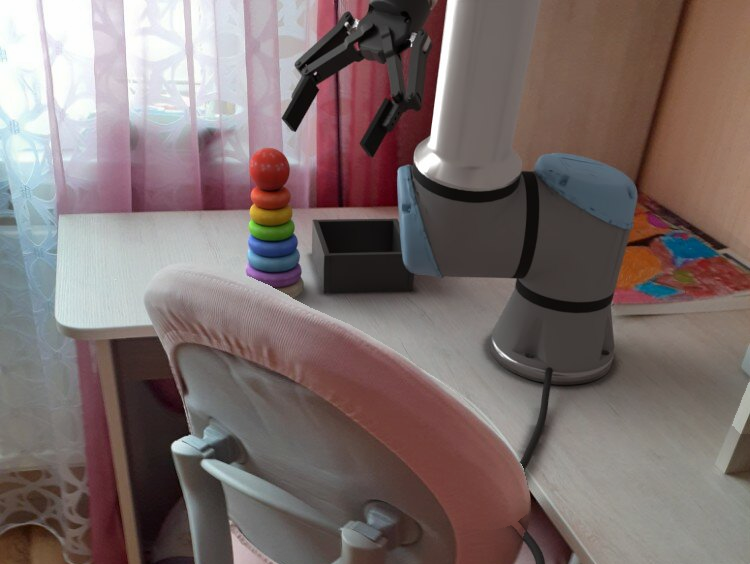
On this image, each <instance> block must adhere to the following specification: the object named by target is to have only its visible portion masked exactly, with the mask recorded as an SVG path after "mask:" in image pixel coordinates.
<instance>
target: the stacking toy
mask: <svg viewBox="0 0 750 564" xmlns="http://www.w3.org/2000/svg"><path fill="white" fill-rule="evenodd" d="M248 169H249V170H248V171H249V176H250V178H251V180H252V182H253V184H255V185H256V186H255V187H254V188H253V189H252V191H251V193H250V199H251V202H252V203H253V204H252V205H251V206H250V207H249V208H250V209H249V217H250V221H249V222H248V232H249V233H250V235H249V236H248V239H247V244H248V250H247V254H246V258H247V262H248V263H247V264H246V266H245V274H246V277H247V276H249V277H252V278H254V279H256V280H258V281H261V282H263V283H265V284H268V285H270V286H272V287H273V288H275V289H277V290H279V291H281V292H283V293H285V294H287V295H289V296H290V297H292V299H294V298H296V297H298V296H299V295H300V294H301V293H302V291H303V290H304V287H305V285H304V280H303V277H302V273H303V272H302V266H301V264H300V259H301V255H300V254H301V253H300V251H299V249H298V246H299V240H298V237H297V235H296V234H295V230H296V229H295V228H296V227H295V226H296V225H295V222H294V221H293V219H292V218H293V213H294V212H293V208H292V207H291V205H290V202H291V198H292V196H291V192H290V190H289V189H288V188H287V187H286V186H285V185H286V184H287V182H288V181H289V177H290V173H291V167H290V163H289V160H288V158H287V157H286V155H285V154H284V153H283V152H282V151H281V150H278V149H277V148H274V147H273V148H272V147H264V148H261V149H259V150H258V151H255V153H254V154H253V155H252V157H251V159H250V161H249V167H248Z"/></svg>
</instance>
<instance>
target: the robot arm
mask: <svg viewBox="0 0 750 564" xmlns="http://www.w3.org/2000/svg"><path fill="white" fill-rule="evenodd" d="M438 1H439V0H369V1H368V7H367V8H368V9H367V12H366V14H365V15H364V16H363V17H362V18H361V19H358V18H355V17H354V16H353V15H352V13H351V12H350V11H345V12H344V13H343V14H342V15H341V17H340V18H339V20H338V22H337V23H336V25H334V26H333V27H332V28H331V29H330V30H329V31H328V32H327V33H326V34H324V35H323V36H322V37H321V38H320V39H319V40H317V42H315V43H314V44H313V45H312V46H310V48H309V49H308V50H307V51H306V52H304V53H303V54H302V55H301V56H300V57H299V58H297V60H296V61H295V62H294V68H295V69H296V70H297V72H298V74H300V76H301V77H300V79H299V81H298V82H297V83H296V86H295V87H294V90H293V91H292V93H291V95H290V98H291V101H290V102H289V104H288V106H287V107H286V109H285V111H284V112H283V114H282V117H281V118H280V119H281V120H282V121H283V122H284V124H285V125H286V126H287V127H288V129H290V131H291V132H294V133H296V132H297V131H298V129H299V127H300V125H301V124H302V122H303V120H304V118H305V117H306V114H307V113H308V111H309V110H310V108H311V106H312V104H313V102H314V100H315V99H316V98H317V95H318V93H319V92H320V88H319V87H318V85H319V84H321V83H323V82H324V81H325V80H327V79H329V78H330V77H332V76H334V75H335V74H337V73H338V72H340V71H341V70H343V69H345V68H347V67H348V66H350V65H351V64H353V63H354V62H356V63H360V62H362V61H363V60H366V61H370V62H377V63H379V64H381V65H385V64H386V66H387V73H388V80H389V81H388V82H389V87H390V94H389V96H390V98H391V99H392V100H391V99H390V98H387V97H384V99H383V100H382V102H381V104H380V106H379V108H378V110H377V111H376V113H375V115H374V117H373V119H372V120H371V121H370V124H369V125H368V128H367V129H366V131H365V133H364V134H363V136H362V138H361V139H360V141H359V143H358V144H359V146H360V147H361V148H362V150H363V151H364V153H365V154H366V155H367V157H369V158H373V159H374V156H375V155H376V153H377V151H378V149H379V148H380V146H381V144H382V142H383V141H384V139H385V137H386V135H387V134H391V133H392V132H393V131H394V130H395V127H396V125H397V124H398V123H399V121H400V119H401V117H402V116H403V114H404V113H406V112H407V111H409V110H413V111H414V112H419V111H421V110H422V109H423V103H424V102H423V101H424V92H425V83H426V73H427V72H426V71H427V63H428V57H429V55H430V53H431V51H432V49H433V45H434V43H433V42H432V40H431V38H430V36H429V34H428V31H427V30H426V28H424V27H425V24H426V23H427V22H428V19H429V17H430V16H431V11H432V10H433V9H434V8H435V6H436V5H437V3H438ZM541 4H542V0H446V6H445V15H444V23H443V32H442V40H441V47H440V55H439V64H438V72H437V80H436V88H435V97H434V105H433V106H434V107H433V112H432V113H433V114H432V121H431V122H432V123H431V129H430V135H429V136H428V137H426V138H425V139H423V140H422V141H420V142H419V143H418V144H417V145H416V147H415V148H414V151H413V160H412V165H411V164H405V165H402V166H400V167H398V169H397V177H396V182H397V183H396V185H397V186H396V187H397V189H396V190H397V208H398V221H399V225H400V238H401V248H402V257H403V262H404V265H405V267H406V268H407V269H408V270H409V271H410V272H411V273H413V274H414V275H418V276H419V275H420V276H430V277H437V278H438V279H444V278H445V277H446V278H447V277H449V278H450V277H451V278H481V279H482V278H485V279H486V278H487V279H514V280H515V284H514V290H513V292H512V293H511V295H510V297H509V299H508V301H507V303H506V304H505V306H504V308H503V309H502V312H501V313H500V315H499V317H498V319H497V321H496V322H495V325H494V327H493V329H492V332H491V336H490V337H491V338H490V343H489V347H490V348H489V349H490V353H491V355H492V357H493V358H494V360H496V361H497V363H499V365H501V366H502V367H503V368H505V369H507V370H508V371H510V372H512V373H514V374H515V375H518V376H520V377H523V378H525V379H528V380H531V381H535V382H539V383H543V387H542V392H541V393H542V394H541V401H540V409H539V414H538V418H537V421H536V425H535V427H534V430H533V433H532V435H531V437H530V440H529V442H528V443H527V446H526V448H525V450H524V452H523V455H522V457H521V459H520V461H519V463H521V464H522V466H523V468H524V471H525V470H526V468H527V467H528V465H529V463H530V461H531V459H532V457H533V454H534V452H535V450H536V448H537V446H538V443H539V441H540V438H541V436H542V433H543V430H544V427H545V424H546V421H547V416H548V409H549V400H550V393H551V392H550V391H551V387H552V385H559V386H561V385H562V386H573V385H581V384H587V383H591V382H594V381H596V380H599V379H601V378H603V377H604V376H605V375H606V374H607V373H608V372H609V371H610V369H611V366H612V363H613V359H614V356H615V339H614V338H615V337H614V326H613V313H612V302H613V299H614V296H615V291H616V288H617V284H618V280H619V277H620V272H621V269H622V265H623V260H624V258H625V257H624V256H625V253H626V251H627V246H628V242H629V239H630V235H631V232H632V230H633V228H634V225H635V223H634V218H635V211H636V206H637V201H638V189H637V186H636V184H635V182H634V181H633V180H632V179H631V177H629V176H628V175H627V174H625V173H624V172H623V171H621V170H619V169H617V168H615V167H614V166H611V165H609V164H606V163H604V162H601V161H599V160H595V159H593V158H589V157H586V156H581V155H578V154H572V153H564V152H552V153H545V154H542V155H541V156H539V157H538V159H537V161H536V162H535V163H534V167H533V170H523V161H522V158H521V156H520V154H518V152H517V151H516V149H514V147H513V144H514V139H515V135H516V131H517V124H518V121H519V120H518V119H519V114H520V109H521V105H522V101H523V95H524V90H525V84H526V80H527V75H528V69H529V65H530V60H531V54H532V50H533V45H534V39H535V36H536V35H535V34H536V30H537V25H538V19H539V15H540V9H541ZM356 43H357V47H356V45H355V44H356ZM357 48H358V49H357ZM408 49H410V56H409V64H408V72H407V73H408V74H407V82H406V84H405V78H404V77H405V75H404V71H403V69H404V64H403V58H402V57H403V56H402V54H403V53H404V52H405V51H407V50H408ZM521 540H522V541H523V542H524V543H525V544H526V546H527V547H528V549H529V551H530V552H531V554H532V556H533V559H534V561H535V564H546V560H545V559H546V558H545V557H544V553H543V551H542V549H541V547H540V545H539V544H538V543H537V541H536V540H535V539H534V538H533V536H532V535H531V534H530V533H529V531H527V529H526V532H525V533H524V536H523V538H521Z"/></svg>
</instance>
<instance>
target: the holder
mask: <svg viewBox="0 0 750 564" xmlns="http://www.w3.org/2000/svg"><path fill="white" fill-rule="evenodd" d="M311 257H312V260H313V263H314V267H315V271H316V273H317V274H316V275H317V276H318V280H319V284H320V287H321V290H322V293H323V294H324V295H325V294H357V293H360V294H361V293H391V292H395V293H396V292H413V289H414V280H415V274H413V273H411V272H410V271H409V270H408V269H407V268H406V267H405V265H404V262H403V257H402V248H401V238H400V225H399V218H341V219H340V218H337V219H335V218H333V219H331V218H330V219H312V221H311Z"/></svg>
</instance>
